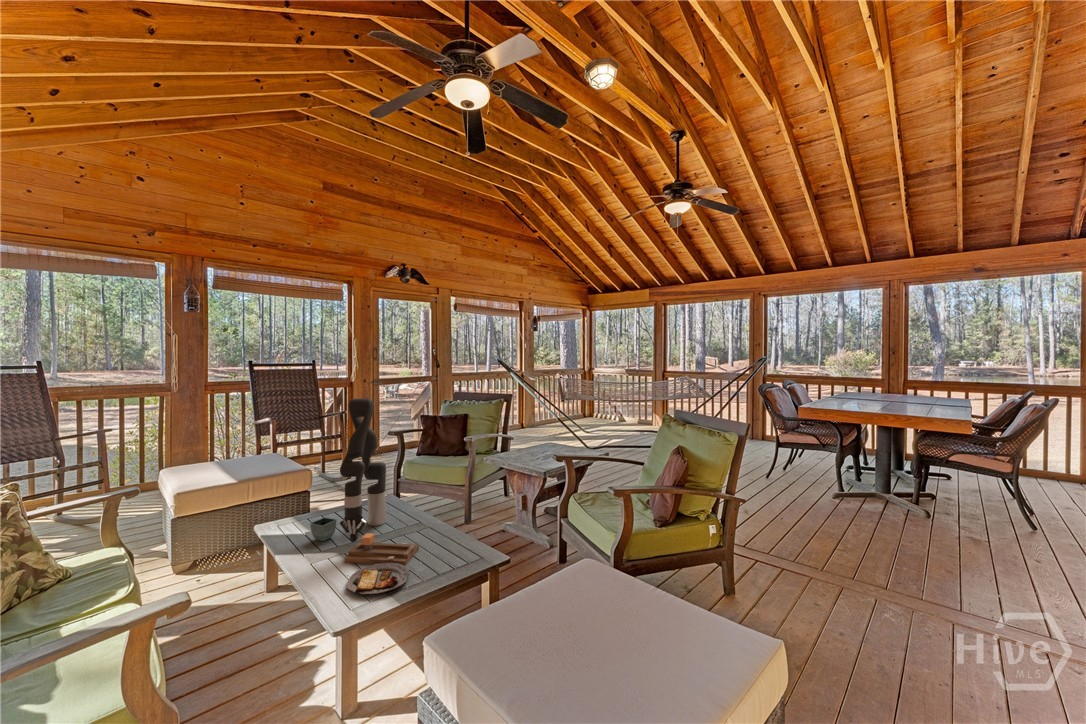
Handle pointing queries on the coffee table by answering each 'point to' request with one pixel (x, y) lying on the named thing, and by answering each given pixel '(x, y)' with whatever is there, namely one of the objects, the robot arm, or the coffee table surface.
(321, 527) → the flower pot
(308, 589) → the coffee table surface
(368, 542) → the fader
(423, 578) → the coffee table surface
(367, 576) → the food plate
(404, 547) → the console
